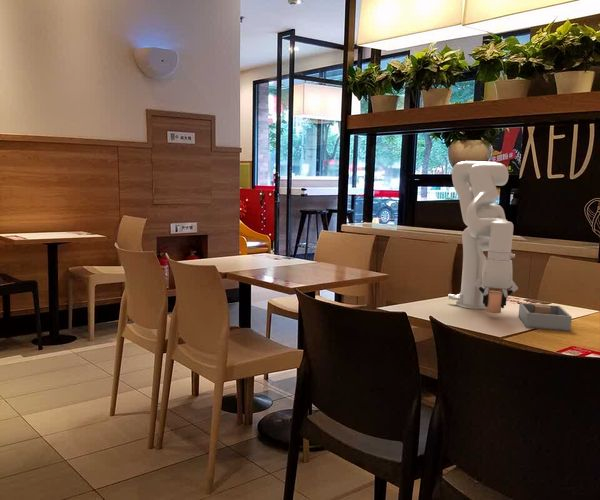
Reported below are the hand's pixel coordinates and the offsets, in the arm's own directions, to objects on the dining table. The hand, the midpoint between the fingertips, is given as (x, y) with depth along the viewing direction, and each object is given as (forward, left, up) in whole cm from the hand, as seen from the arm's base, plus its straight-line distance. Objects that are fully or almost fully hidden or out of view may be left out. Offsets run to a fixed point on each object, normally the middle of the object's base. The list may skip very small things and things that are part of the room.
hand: (493, 305), depth 199 cm
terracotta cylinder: (0, 0, -2) cm, 2 cm away
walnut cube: (+16, +2, -4) cm, 17 cm away
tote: (+16, -1, -5) cm, 17 cm away
